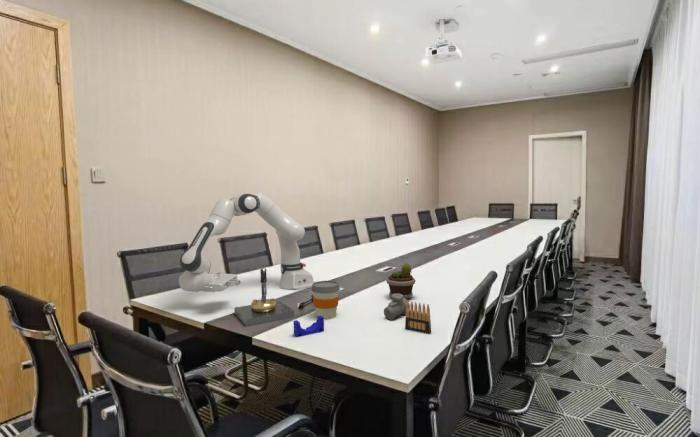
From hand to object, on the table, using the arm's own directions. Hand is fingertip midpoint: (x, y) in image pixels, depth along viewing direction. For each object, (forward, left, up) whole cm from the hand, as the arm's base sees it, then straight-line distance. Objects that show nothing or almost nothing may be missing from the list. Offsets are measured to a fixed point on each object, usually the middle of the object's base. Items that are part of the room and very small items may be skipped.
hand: (239, 282), depth 191 cm
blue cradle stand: (-15, +47, -14) cm, 51 cm away
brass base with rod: (-7, +14, -10) cm, 18 cm away
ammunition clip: (-53, +70, -13) cm, 89 cm away
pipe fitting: (-56, +51, -13) cm, 77 cm away
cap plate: (-6, +16, -13) cm, 22 cm away
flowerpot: (-76, +29, -13) cm, 83 cm away
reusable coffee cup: (-30, +33, -13) cm, 47 cm away
